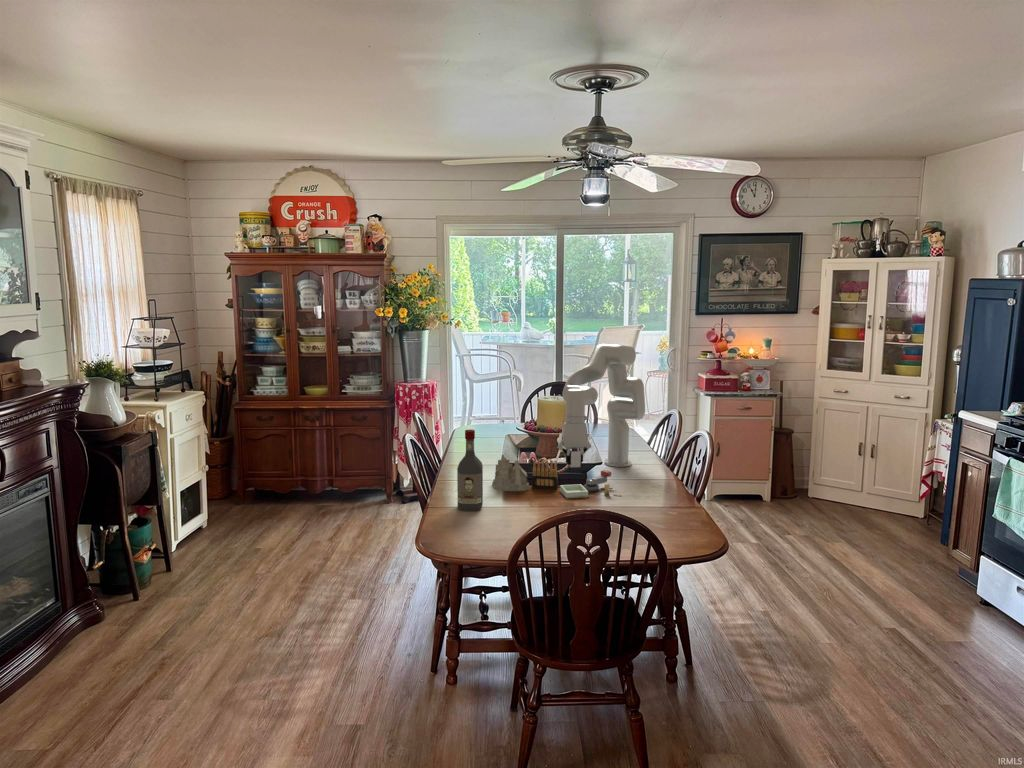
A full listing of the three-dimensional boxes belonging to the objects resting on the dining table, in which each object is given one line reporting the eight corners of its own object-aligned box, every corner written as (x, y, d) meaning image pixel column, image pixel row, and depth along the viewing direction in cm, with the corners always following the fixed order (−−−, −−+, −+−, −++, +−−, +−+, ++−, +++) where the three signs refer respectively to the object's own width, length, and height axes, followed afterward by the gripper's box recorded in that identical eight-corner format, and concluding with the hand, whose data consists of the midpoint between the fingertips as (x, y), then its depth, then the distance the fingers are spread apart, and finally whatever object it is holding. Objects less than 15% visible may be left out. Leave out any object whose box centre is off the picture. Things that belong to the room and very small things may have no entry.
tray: (559, 490, 281) (559, 485, 280) (580, 489, 282) (580, 484, 282) (566, 498, 271) (566, 492, 271) (588, 497, 273) (588, 491, 272)
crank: (591, 487, 279) (591, 477, 278) (584, 484, 282) (584, 475, 281) (610, 481, 286) (611, 471, 286) (603, 479, 289) (604, 469, 289)
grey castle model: (527, 492, 279) (526, 455, 277) (488, 491, 282) (487, 455, 281) (533, 483, 294) (532, 449, 293) (496, 482, 297) (495, 448, 296)
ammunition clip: (531, 487, 285) (532, 459, 283) (532, 486, 287) (532, 458, 285) (557, 489, 283) (557, 461, 281) (557, 487, 285) (558, 460, 283)
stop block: (568, 464, 276) (568, 447, 275) (577, 464, 277) (578, 447, 276) (570, 467, 272) (571, 449, 271) (580, 467, 273) (580, 449, 272)
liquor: (459, 503, 265) (459, 427, 260) (483, 503, 265) (482, 428, 260) (457, 511, 256) (456, 433, 251) (481, 511, 256) (481, 433, 251)
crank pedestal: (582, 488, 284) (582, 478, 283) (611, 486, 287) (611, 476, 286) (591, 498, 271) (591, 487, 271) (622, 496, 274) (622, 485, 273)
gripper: (592, 417, 277) (591, 460, 280) (552, 418, 274) (551, 462, 277) (598, 420, 270) (597, 465, 273) (557, 422, 267) (556, 467, 269)
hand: (574, 463), depth 275 cm, fingers closed on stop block, 4 cm apart
